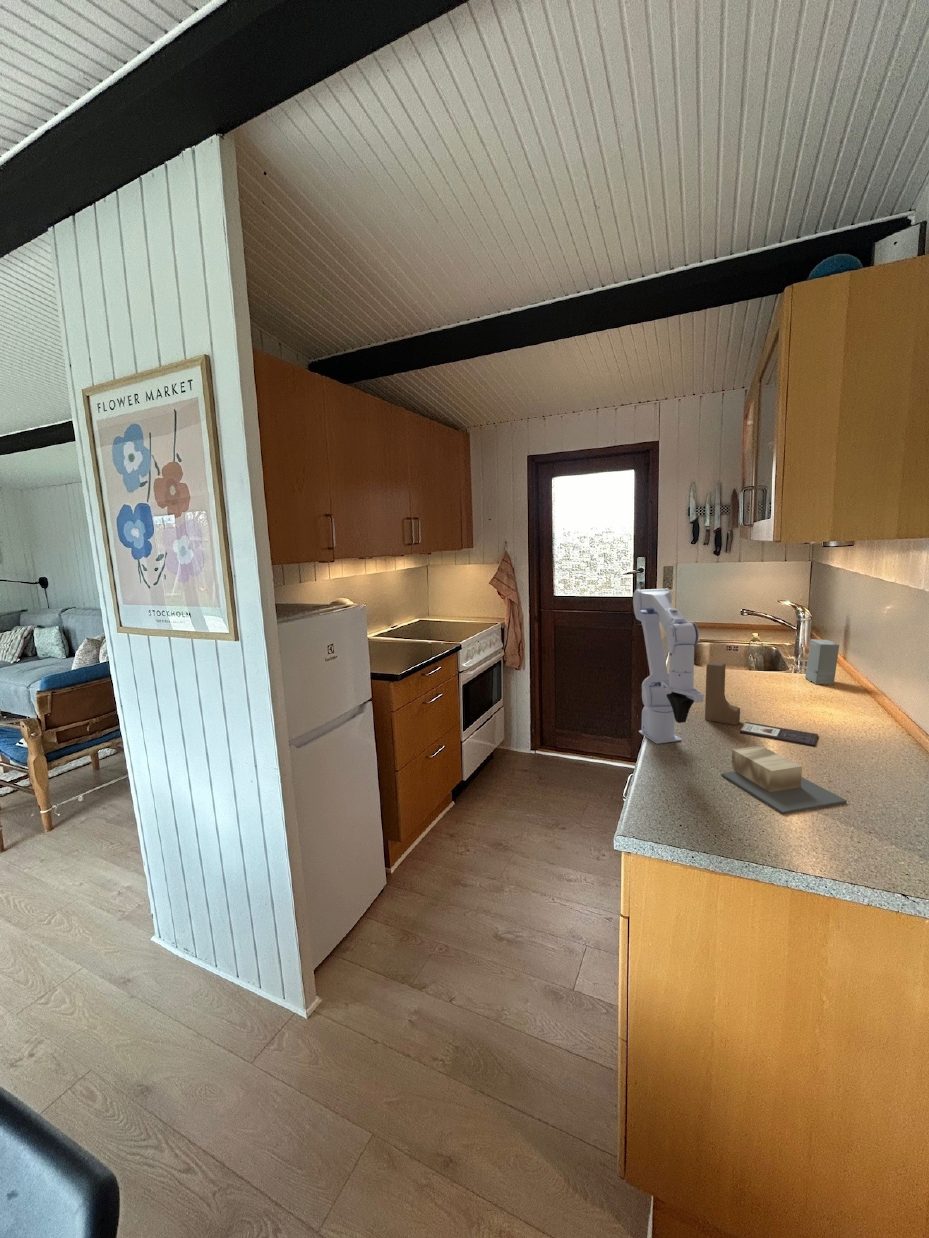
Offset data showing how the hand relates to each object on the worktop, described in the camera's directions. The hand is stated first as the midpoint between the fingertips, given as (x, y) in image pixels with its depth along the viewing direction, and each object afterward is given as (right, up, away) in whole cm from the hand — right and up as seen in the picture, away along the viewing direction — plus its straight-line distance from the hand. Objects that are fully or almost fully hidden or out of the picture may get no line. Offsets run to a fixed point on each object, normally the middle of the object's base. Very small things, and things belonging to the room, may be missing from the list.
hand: (680, 721), depth 129 cm
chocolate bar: (+35, -7, +15) cm, 38 cm away
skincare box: (+80, +2, +61) cm, 100 cm away
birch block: (+14, -8, -6) cm, 17 cm away
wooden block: (+25, -5, +27) cm, 37 cm away
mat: (+16, -12, -15) cm, 25 cm away
